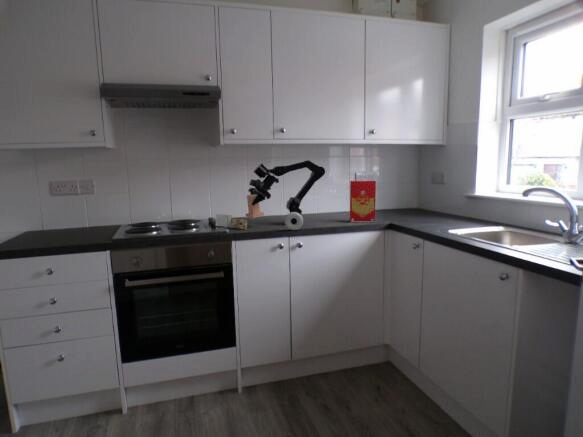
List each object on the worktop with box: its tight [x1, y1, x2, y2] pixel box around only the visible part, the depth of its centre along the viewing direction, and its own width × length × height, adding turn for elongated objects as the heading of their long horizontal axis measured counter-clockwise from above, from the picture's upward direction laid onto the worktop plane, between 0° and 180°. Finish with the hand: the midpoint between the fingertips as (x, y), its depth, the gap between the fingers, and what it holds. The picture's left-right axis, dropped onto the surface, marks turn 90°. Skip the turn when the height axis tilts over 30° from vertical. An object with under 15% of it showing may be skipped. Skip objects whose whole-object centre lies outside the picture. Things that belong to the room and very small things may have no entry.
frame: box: [215, 213, 233, 228], centre depth 212 cm, size 10×2×7 cm, turn 70°
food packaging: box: [349, 180, 377, 222], centre depth 226 cm, size 15×5×25 cm, turn 85°
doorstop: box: [245, 194, 265, 219], centre depth 210 cm, size 8×8×12 cm
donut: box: [284, 212, 304, 231], centre depth 199 cm, size 10×3×10 cm, turn 90°
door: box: [230, 217, 248, 231], centre depth 205 cm, size 12×2×5 cm, turn 47°
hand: (250, 204), depth 209 cm, fingers closed on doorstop, 5 cm apart
